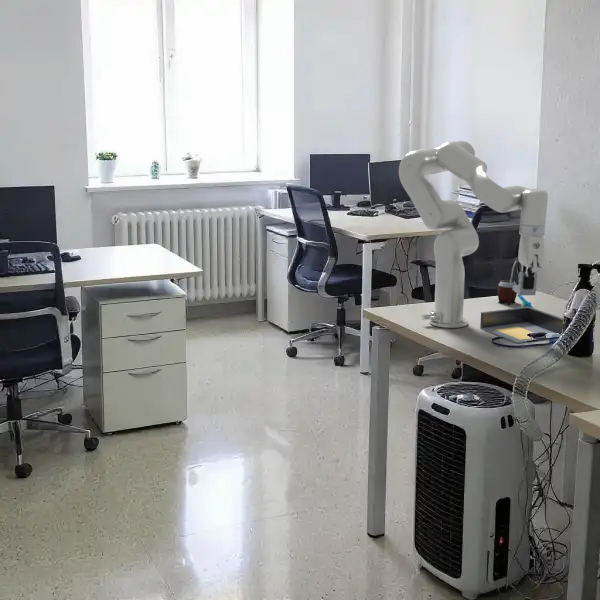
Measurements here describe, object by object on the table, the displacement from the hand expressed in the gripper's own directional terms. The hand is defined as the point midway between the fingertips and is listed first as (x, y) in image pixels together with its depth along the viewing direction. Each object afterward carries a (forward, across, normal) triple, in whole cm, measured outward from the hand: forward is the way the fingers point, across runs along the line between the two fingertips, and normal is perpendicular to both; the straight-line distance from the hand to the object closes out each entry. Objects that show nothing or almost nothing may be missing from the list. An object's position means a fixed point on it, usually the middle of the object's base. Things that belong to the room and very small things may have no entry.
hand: (526, 287), depth 283 cm
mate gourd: (+18, +46, -10) cm, 51 cm away
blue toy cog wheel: (+17, +28, -11) cm, 35 cm away
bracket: (+2, +3, 0) cm, 3 cm away
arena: (+17, +6, -2) cm, 18 cm away
